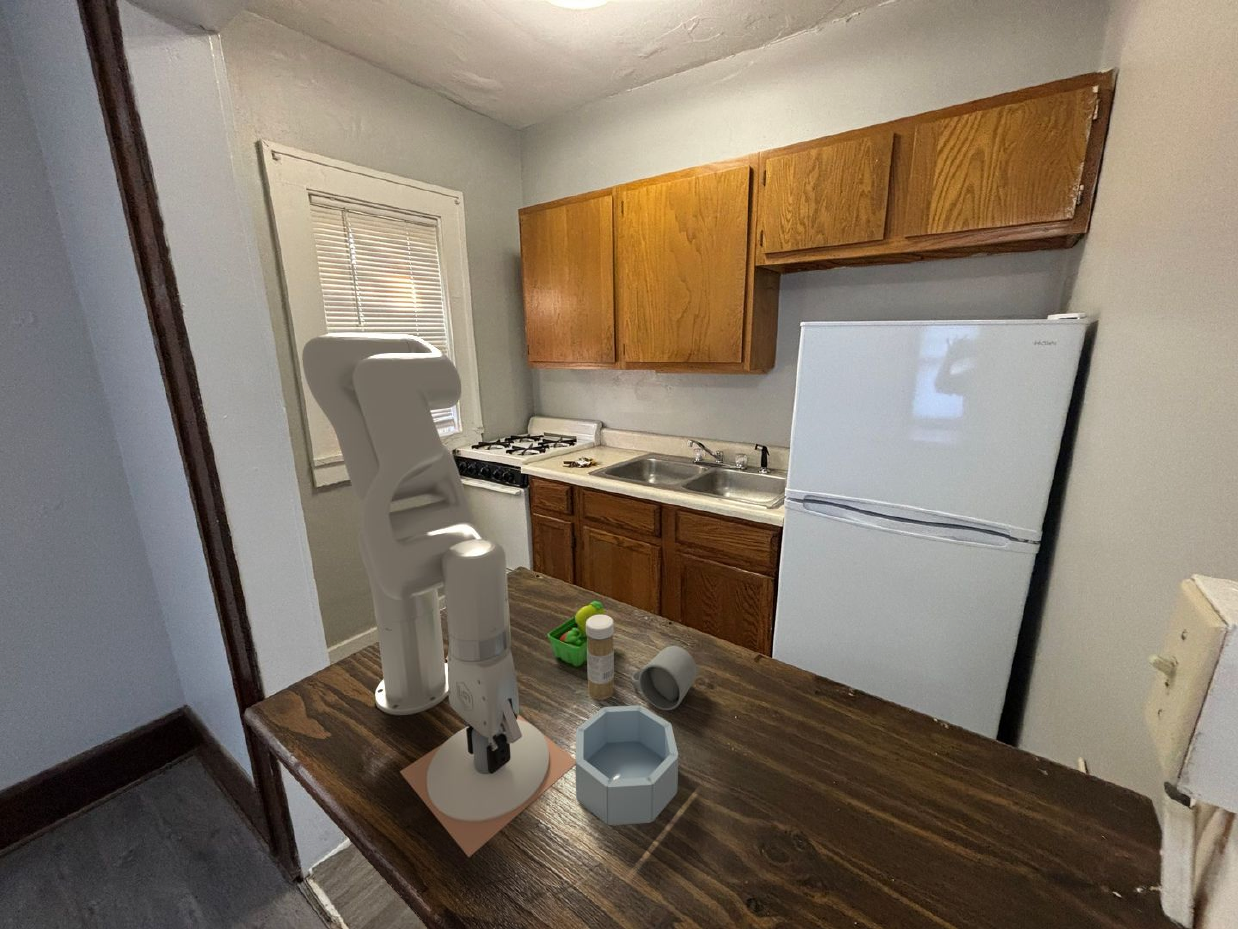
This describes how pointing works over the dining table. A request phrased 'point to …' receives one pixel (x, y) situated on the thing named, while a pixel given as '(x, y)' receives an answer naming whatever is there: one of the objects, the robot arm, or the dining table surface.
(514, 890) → the dining table surface
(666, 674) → the ceramic mug
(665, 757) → the bowl
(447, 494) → the robot arm
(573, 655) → the fruit basket
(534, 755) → the lid
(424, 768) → the mat
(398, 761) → the dining table surface
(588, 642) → the spice bottle
